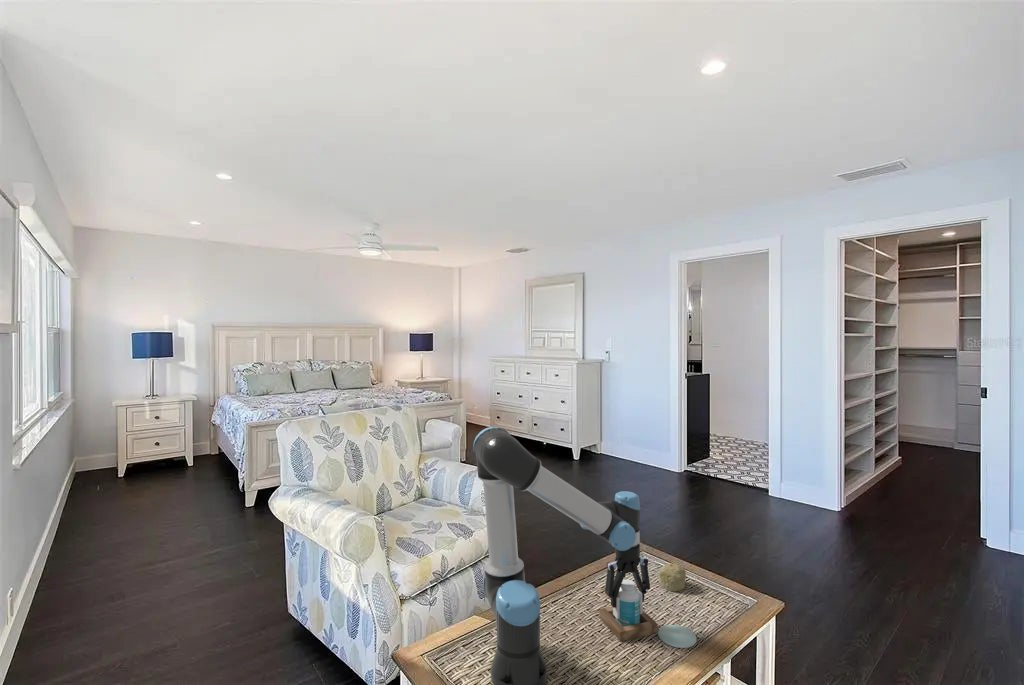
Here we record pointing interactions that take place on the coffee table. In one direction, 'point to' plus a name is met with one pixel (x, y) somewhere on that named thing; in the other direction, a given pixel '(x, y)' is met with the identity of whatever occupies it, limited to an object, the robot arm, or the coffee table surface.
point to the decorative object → (672, 577)
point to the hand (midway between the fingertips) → (627, 614)
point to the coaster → (677, 636)
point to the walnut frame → (628, 632)
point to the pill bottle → (629, 604)
